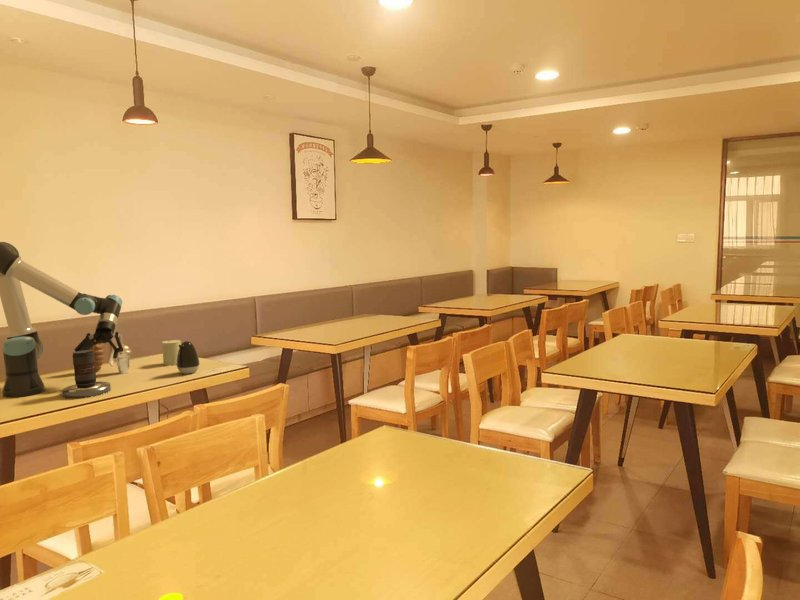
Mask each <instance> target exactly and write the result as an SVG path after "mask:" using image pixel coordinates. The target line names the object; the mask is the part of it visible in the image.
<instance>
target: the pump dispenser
mask: <svg viewBox="0 0 800 600" xmlns="http://www.w3.org/2000/svg"><path fill="white" fill-rule="evenodd" d="M179 347H180V348H179V351H178V355H177V365H176V368H177V369H178V372H180V373H181V374H184V375H191V374H194V373H196V372H197V371H198V370H199V367H200V359H199V355H198V351H197V350H196V348H195V345H194V344H193V343H192V341H189V340H188V341H187V340H185V341H183V342H181V345H179ZM190 373H191V374H190Z"/></svg>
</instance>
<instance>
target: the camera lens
mask: <svg viewBox="0 0 800 600" xmlns="http://www.w3.org/2000/svg"><path fill="white" fill-rule="evenodd" d="M72 365H73V369H74V371H73V372H74V382H75V383H76V384H77V388H89V387H93V386H95V382H97V372H95V355H94V351H93V350H83V351H77V352H75V351H74V352H72ZM76 384H75V385H76Z"/></svg>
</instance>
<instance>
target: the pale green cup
mask: <svg viewBox="0 0 800 600" xmlns="http://www.w3.org/2000/svg"><path fill="white" fill-rule="evenodd" d="M181 344H182V341H181V340H180V339H170V340H165V341H162V342H161V347H162V358H163V361H162V363H163V366H166V365H171V366H177V355H178V351H179V348H180V347H179V345H181Z"/></svg>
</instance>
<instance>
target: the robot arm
mask: <svg viewBox="0 0 800 600" xmlns="http://www.w3.org/2000/svg"><path fill="white" fill-rule="evenodd" d="M19 252H20V251H19V250H18V249H17V248H16V246H14V245H13V244H11V243H9V242H6V241H0V301H1V304H2V309H3V312H4V316H5V320H6V324H7V328H8V330H9V331H8V334H7V336H6V340H4V341H3V343H2V352H3V353H2V354H3V362H4V370H5V381H4V384H3V387H2V397H3V398H22V397H28V396H33V394H34V395H38V394H39V393H40V392H41V393H43V392H45V390H46V388H45V383H44V382H43V379H42V378H41V376H40V373H39V367H38V366H39V365H38V359H40V357H41V356H42V355H43V354H42V353H43V351H44V345H43V342H42V340H41V339H40V337H39V334H38V330H37V329H36V328H34V327H33V326H32V322H31V319H30V315H29V312H28V308H27V307H28V306H27V303H26V299H25V295H24V292H23V291H24V290H23V288H22V284H21V282H22V283H24V284H25V285H27V286H30V287H31V288H34V289H35V290H37V291H39V292H41V293H43V294H45V295H46V296H48V297H50V298H53V299H54V300H55V301H57V302H59V303H61V304H63V305H65V306H67V307H69V308H70V309H72V310H74V311H76V313H77V314H79V315H82V316H87V315H90V314H92V313H93V314H97V315H98V314H99V317H98V320H97V324H96V326H95V331H94V333H93V334H92V333H90V332H88V333H86V335H85V337H84V338H83V339H82V340H81V341H80V343H79V344H78V345H77V346H76V347H75V348H74V352H77V351H83V350H89V349H90V348H91V347H93V346H94V345H96V344H98V343H99V344H101V343H103V344H107V343H108V344H109V345H110V346H111V347H112V350H111V353H110V356H109V360H108V364H109V366H110V367H113V366H114V362H115V360H116V358H117V355H118V353H119V352H120V351H121V352H122V351H123V347H122V344H123V343H122V344H121V339H120V335H119V331H116V332H115V330H116V327H117V322H118V319H119V316H120V314H121V313H120V312H121V310H122V304H123V300H122V298H121V297H120V296H118V295H116V294H108V295H106V297H99V296H95V295H91V294H87V293H81V292H80V291H78V290H76V289H74V288H72V287H71V286H68V284H65V283H64V282H61V281H59V280H58V279H56V278H54V277H53V276H51V275H48V274H47V273H45V272H44V271H41V270H40V269H38V268H36V267H34V266H32V265H31V264H29V263H27V262H25V261H24V260H23V259H22V257H21V256H20V253H19ZM93 337H94V338H93ZM113 338H114V339H115V341H116V344H117V346H118V347H119V348H117V347H116V345H115V344H114V343H113V341H112V339H113ZM90 340H91V341H90ZM94 340H96V342H95V341H94ZM89 341H90V342H89ZM41 393H40V394H41Z"/></svg>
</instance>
